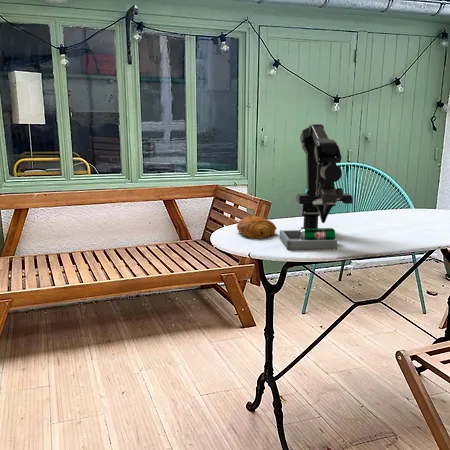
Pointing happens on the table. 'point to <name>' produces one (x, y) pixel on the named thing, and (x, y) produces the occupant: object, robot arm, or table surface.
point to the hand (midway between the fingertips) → (323, 222)
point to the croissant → (256, 227)
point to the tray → (304, 242)
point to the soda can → (317, 234)
